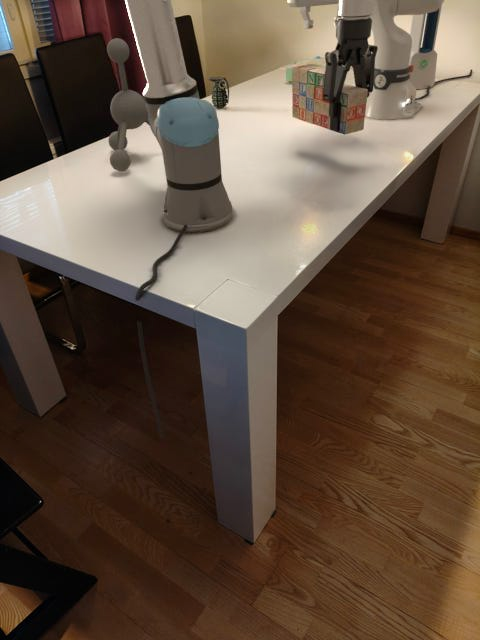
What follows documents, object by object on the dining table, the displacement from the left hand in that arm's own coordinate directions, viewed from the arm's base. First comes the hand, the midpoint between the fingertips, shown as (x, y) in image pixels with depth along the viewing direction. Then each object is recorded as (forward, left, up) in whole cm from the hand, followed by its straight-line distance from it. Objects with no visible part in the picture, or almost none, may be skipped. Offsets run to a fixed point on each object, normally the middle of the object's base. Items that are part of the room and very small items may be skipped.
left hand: (345, 127), depth 119 cm
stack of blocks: (+4, +6, -1) cm, 7 cm away
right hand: (+13, +12, +19) cm, 26 cm away
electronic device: (+90, +2, -11) cm, 91 cm away
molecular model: (-11, +55, -11) cm, 57 cm away
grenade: (+41, +60, -11) cm, 73 cm away
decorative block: (+94, +45, -11) cm, 105 cm away
